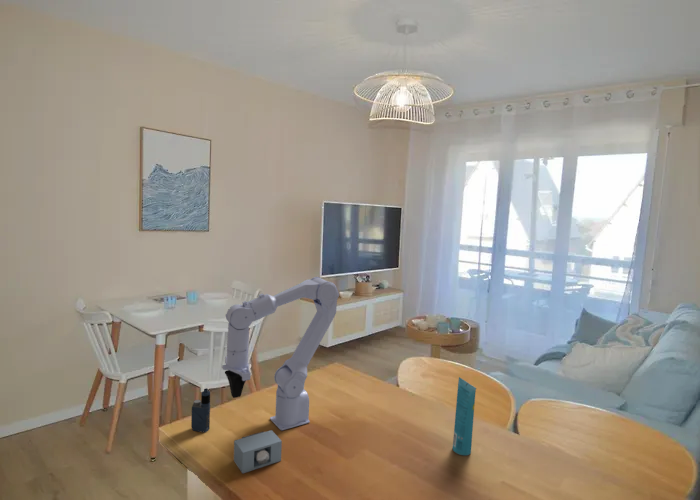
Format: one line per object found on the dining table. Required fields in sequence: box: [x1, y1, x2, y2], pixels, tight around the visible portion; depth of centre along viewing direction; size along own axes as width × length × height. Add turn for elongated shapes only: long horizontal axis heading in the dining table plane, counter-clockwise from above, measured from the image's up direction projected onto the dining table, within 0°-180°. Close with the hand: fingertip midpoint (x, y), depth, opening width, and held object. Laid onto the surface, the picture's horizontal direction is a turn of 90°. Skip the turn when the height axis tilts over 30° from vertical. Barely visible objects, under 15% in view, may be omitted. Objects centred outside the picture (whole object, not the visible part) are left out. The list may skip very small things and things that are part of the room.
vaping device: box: [190, 387, 211, 433], centre depth 115 cm, size 3×5×12 cm, turn 78°
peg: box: [254, 448, 269, 464], centre depth 103 cm, size 7×4×4 cm, turn 35°
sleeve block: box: [233, 429, 283, 474], centre depth 103 cm, size 6×10×5 cm, turn 125°
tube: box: [452, 376, 477, 456], centre depth 111 cm, size 7×5×19 cm, turn 26°
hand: (236, 396), depth 114 cm, fingers closed
